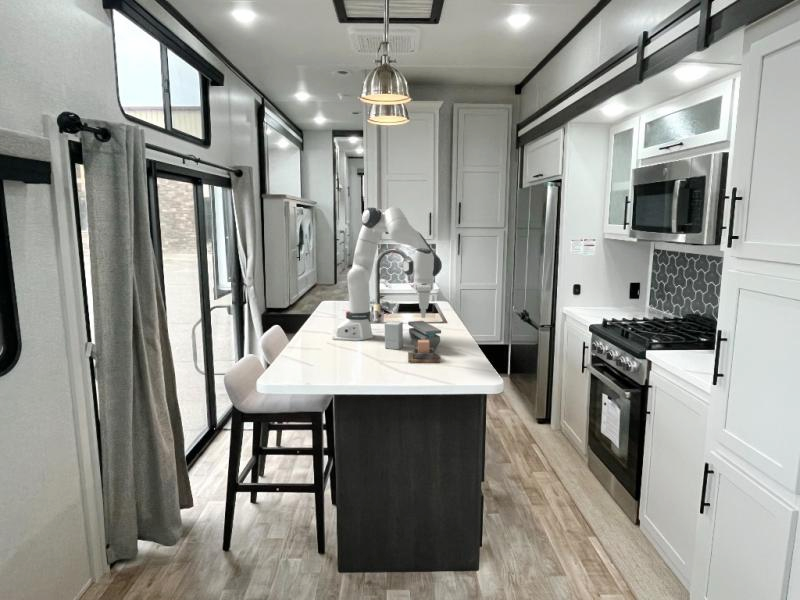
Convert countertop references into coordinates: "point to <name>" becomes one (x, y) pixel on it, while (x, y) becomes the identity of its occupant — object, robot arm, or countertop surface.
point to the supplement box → (393, 335)
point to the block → (423, 346)
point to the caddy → (423, 356)
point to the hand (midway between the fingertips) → (422, 315)
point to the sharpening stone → (424, 333)
